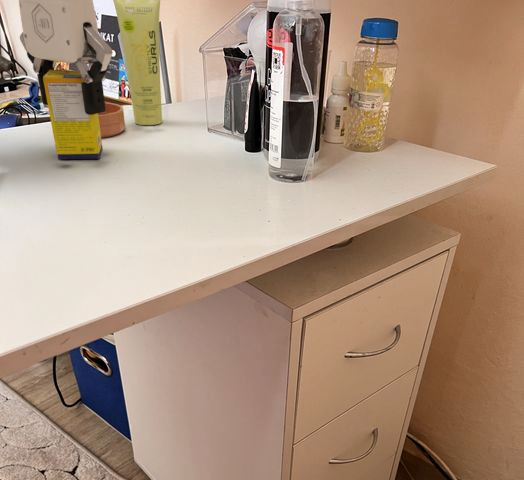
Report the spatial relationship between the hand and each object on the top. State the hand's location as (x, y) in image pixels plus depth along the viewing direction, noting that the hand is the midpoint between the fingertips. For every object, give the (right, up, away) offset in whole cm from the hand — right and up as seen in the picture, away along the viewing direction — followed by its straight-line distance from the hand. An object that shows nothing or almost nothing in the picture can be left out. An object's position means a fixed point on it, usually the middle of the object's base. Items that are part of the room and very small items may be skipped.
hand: (73, 107), depth 76 cm
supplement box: (0, -5, +4) cm, 7 cm away
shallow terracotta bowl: (-2, +3, +15) cm, 15 cm away
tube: (+6, +6, +21) cm, 22 cm away
